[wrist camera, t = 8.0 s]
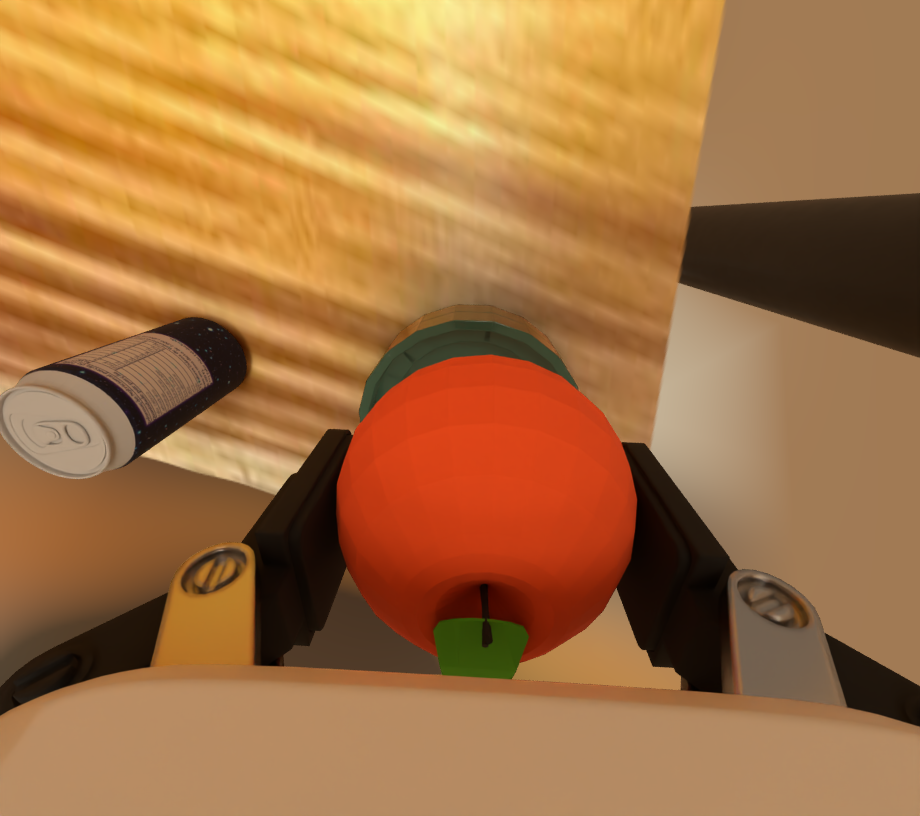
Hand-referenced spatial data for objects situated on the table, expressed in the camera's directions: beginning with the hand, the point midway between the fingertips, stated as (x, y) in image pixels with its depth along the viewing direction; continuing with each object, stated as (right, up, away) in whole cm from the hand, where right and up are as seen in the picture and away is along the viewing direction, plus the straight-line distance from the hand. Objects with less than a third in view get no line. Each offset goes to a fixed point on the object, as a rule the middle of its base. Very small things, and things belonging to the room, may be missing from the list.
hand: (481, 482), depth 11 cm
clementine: (0, +1, +2) cm, 2 cm away
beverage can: (-19, +6, +17) cm, 26 cm away
